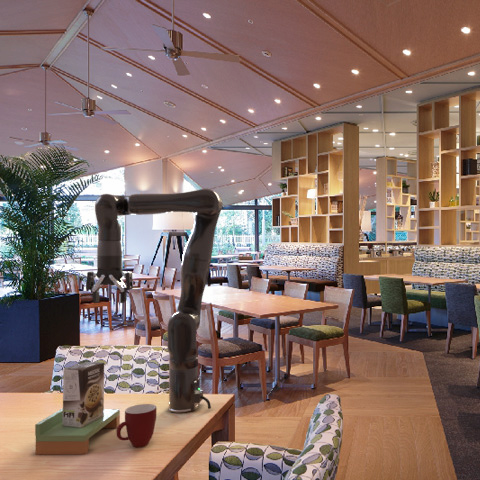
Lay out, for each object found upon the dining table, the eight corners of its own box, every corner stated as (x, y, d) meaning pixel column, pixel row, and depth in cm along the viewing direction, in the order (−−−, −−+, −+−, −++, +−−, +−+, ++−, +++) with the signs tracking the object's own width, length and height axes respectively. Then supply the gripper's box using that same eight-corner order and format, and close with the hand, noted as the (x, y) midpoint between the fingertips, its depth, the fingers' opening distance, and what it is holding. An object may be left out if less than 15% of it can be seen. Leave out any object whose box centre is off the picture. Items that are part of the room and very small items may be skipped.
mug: (127, 456, 129) (127, 418, 129) (110, 449, 133) (110, 412, 133) (162, 442, 138) (162, 407, 138) (145, 436, 142) (145, 402, 142)
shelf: (119, 425, 150) (119, 399, 150) (84, 454, 130) (85, 424, 130) (76, 425, 150) (76, 399, 150) (35, 454, 130) (35, 424, 130)
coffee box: (81, 428, 135) (82, 370, 135) (61, 426, 136) (62, 368, 136) (104, 416, 144) (105, 361, 144) (85, 414, 145) (86, 360, 145)
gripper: (82, 254, 159) (81, 304, 159) (126, 254, 159) (126, 304, 159) (94, 253, 166) (93, 301, 166) (136, 254, 167) (136, 301, 167)
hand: (109, 302), depth 163 cm, fingers open, 8 cm apart
